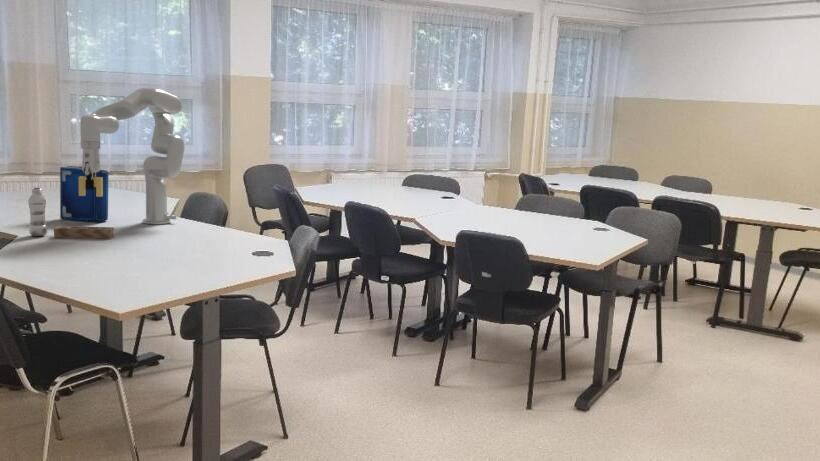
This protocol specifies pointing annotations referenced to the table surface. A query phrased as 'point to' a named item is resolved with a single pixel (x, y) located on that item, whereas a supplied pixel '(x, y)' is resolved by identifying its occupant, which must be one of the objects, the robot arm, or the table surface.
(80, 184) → the yellow notched flat block
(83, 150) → the robot arm
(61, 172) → the book
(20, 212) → the table surface
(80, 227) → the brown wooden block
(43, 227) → the plastic bottle
